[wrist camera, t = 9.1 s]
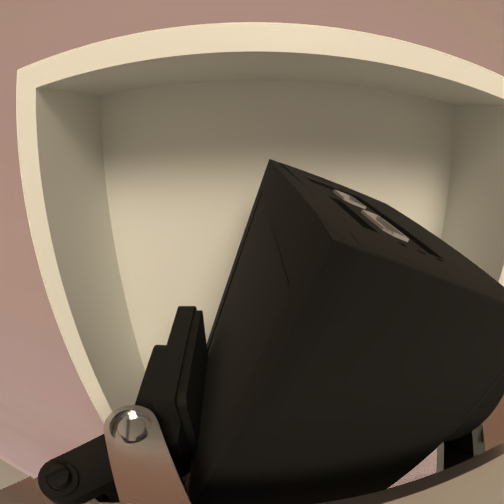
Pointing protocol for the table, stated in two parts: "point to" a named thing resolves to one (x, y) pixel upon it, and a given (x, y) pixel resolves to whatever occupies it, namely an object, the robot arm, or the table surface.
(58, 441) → the table surface
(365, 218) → the digital camera
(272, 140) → the box
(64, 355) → the table surface
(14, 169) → the table surface
